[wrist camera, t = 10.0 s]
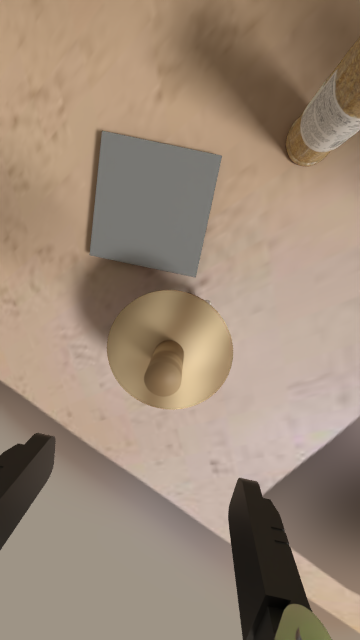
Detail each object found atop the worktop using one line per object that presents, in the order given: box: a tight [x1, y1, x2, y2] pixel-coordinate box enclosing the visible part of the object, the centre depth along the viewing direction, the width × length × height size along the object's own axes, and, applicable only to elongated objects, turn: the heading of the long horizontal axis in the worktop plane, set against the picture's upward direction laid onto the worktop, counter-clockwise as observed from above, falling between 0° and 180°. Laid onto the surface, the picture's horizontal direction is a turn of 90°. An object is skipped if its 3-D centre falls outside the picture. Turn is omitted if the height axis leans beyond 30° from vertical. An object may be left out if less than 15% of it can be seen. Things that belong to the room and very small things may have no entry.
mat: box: [90, 131, 222, 277], centre depth 25 cm, size 12×12×1 cm
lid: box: [107, 290, 233, 409], centre depth 20 cm, size 12×12×6 cm
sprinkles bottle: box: [286, 37, 360, 166], centre depth 17 cm, size 5×5×14 cm
